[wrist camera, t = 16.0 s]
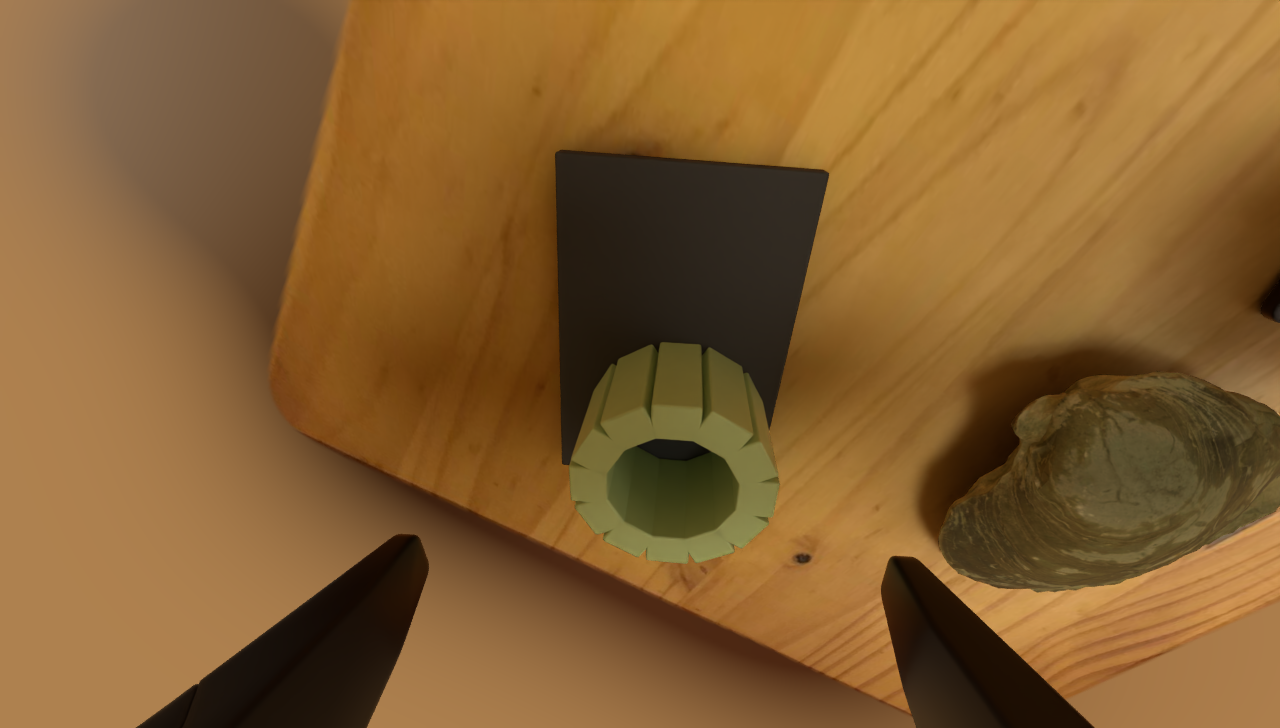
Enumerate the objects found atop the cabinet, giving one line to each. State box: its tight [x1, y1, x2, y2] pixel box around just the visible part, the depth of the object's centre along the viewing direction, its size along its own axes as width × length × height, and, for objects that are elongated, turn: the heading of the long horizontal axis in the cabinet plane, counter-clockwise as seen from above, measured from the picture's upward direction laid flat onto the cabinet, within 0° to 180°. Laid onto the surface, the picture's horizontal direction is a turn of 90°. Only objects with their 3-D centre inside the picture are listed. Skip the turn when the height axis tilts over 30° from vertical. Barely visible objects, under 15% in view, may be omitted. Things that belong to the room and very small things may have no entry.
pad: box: [555, 150, 829, 465], centre depth 18 cm, size 12×8×1 cm, turn 177°
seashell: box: [938, 371, 1280, 592], centre depth 17 cm, size 10×7×10 cm
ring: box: [569, 342, 780, 564], centre depth 17 cm, size 6×6×4 cm
